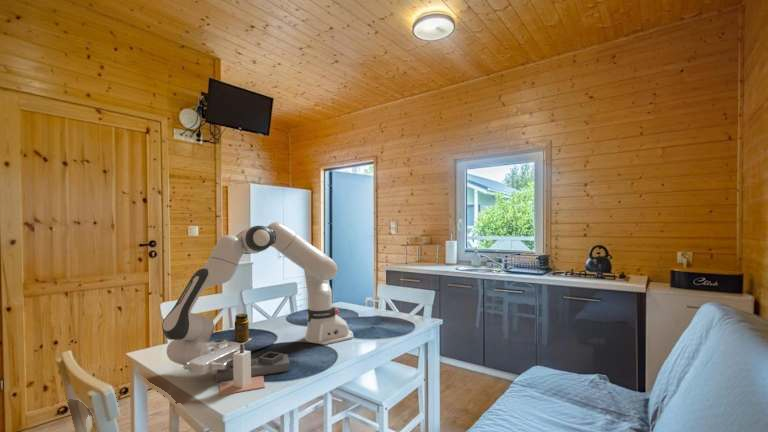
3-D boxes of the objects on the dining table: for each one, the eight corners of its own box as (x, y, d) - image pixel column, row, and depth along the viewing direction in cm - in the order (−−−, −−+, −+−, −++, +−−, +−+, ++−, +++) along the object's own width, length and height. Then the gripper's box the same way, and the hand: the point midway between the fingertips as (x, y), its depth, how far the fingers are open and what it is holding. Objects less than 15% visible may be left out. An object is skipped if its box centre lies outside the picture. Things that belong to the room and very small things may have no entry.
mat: (263, 376, 132) (263, 375, 132) (264, 387, 123) (264, 386, 123) (221, 383, 127) (221, 382, 127) (219, 395, 118) (219, 394, 118)
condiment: (252, 338, 172) (252, 313, 171) (242, 345, 163) (242, 318, 163) (238, 337, 173) (238, 312, 173) (227, 344, 164) (227, 317, 164)
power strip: (287, 361, 145) (287, 348, 145) (289, 370, 136) (289, 357, 136) (218, 371, 136) (218, 358, 136) (216, 382, 127) (216, 368, 127)
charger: (242, 381, 128) (241, 341, 127) (251, 382, 126) (250, 342, 126) (233, 386, 124) (232, 345, 124) (242, 388, 122) (242, 346, 122)
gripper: (179, 357, 121) (211, 363, 116) (227, 337, 140) (255, 342, 135) (180, 376, 121) (211, 383, 116) (227, 354, 140) (256, 359, 135)
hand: (235, 361), depth 126 cm, fingers open, 8 cm apart
